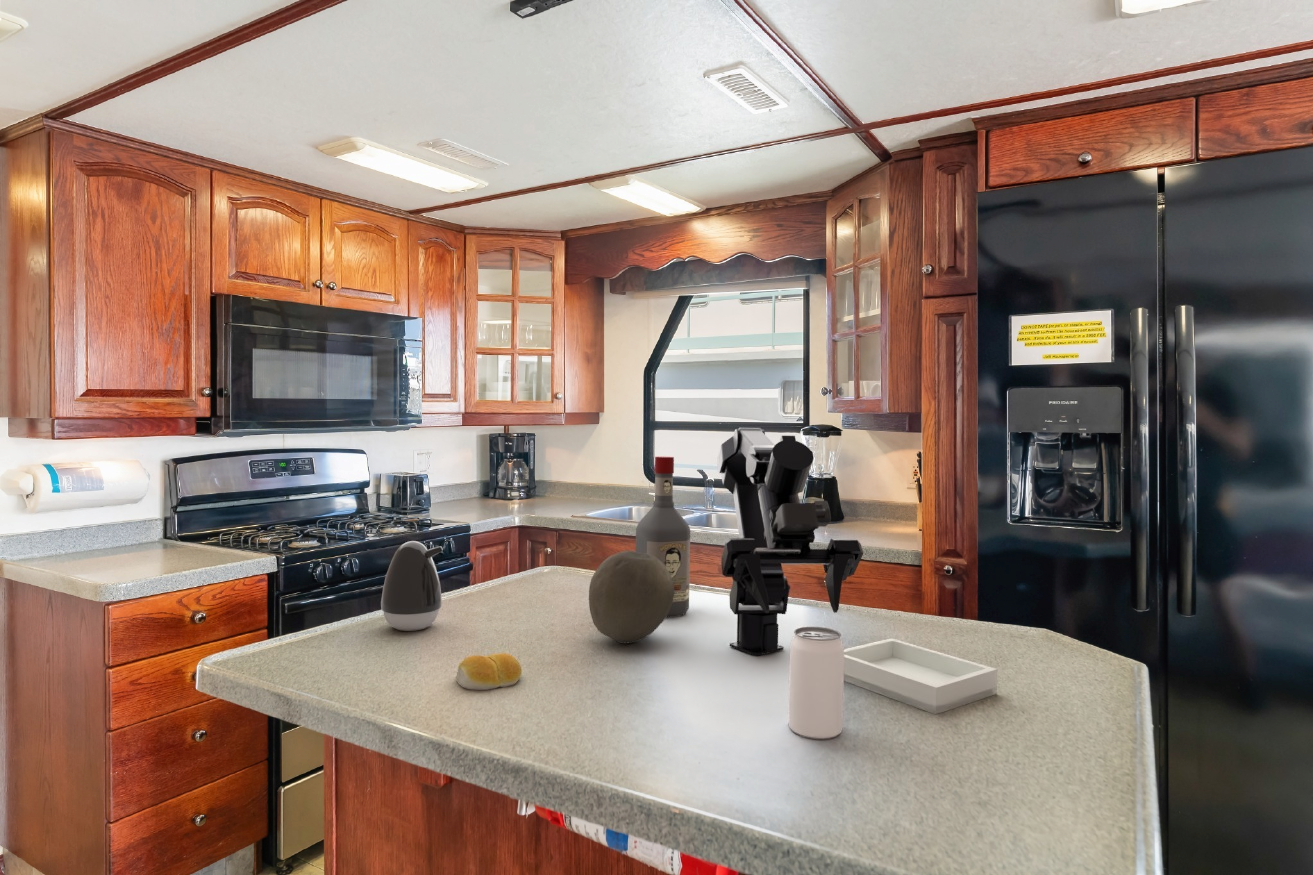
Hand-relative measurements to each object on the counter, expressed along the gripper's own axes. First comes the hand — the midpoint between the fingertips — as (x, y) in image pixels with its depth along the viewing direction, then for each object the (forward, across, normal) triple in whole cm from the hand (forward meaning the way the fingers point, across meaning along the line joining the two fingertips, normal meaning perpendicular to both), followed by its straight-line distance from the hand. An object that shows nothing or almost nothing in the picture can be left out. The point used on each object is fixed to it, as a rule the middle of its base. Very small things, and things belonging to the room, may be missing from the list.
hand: (802, 611), depth 104 cm
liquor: (-27, -13, +46) cm, 55 cm away
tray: (+3, +19, +15) cm, 24 cm away
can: (+14, 0, +4) cm, 15 cm away
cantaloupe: (-14, -20, +32) cm, 40 cm away
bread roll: (0, -42, +18) cm, 46 cm away
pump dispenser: (-20, -58, +38) cm, 73 cm away
